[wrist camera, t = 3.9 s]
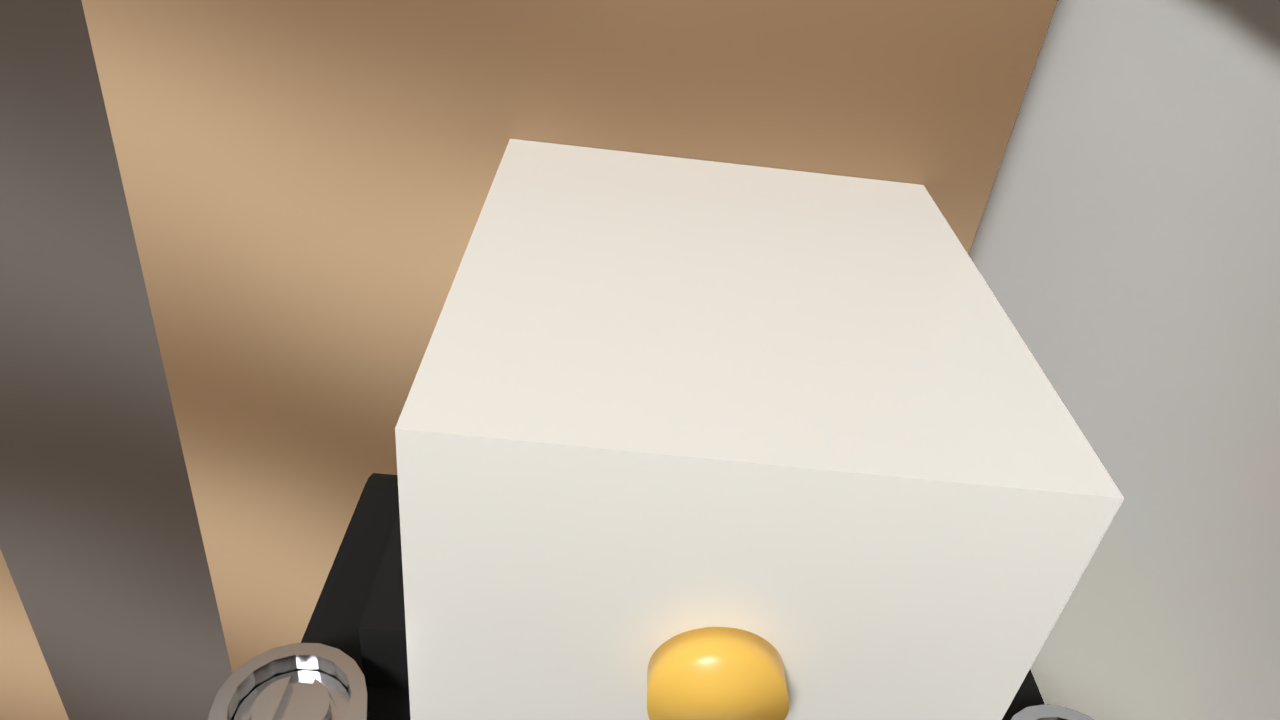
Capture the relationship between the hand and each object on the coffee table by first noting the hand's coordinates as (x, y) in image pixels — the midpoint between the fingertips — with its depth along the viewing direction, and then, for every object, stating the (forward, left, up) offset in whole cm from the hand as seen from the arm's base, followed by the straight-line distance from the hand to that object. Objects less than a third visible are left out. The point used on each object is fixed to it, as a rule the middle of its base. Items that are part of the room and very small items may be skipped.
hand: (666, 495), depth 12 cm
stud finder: (0, 0, 0) cm, 0 cm away
